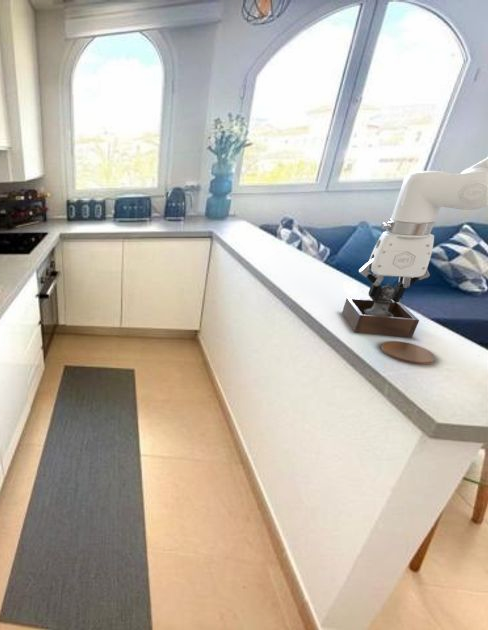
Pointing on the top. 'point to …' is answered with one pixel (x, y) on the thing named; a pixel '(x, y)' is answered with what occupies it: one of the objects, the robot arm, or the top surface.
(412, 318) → the crate
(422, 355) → the coaster
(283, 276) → the top surface
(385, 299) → the stone chess piece
